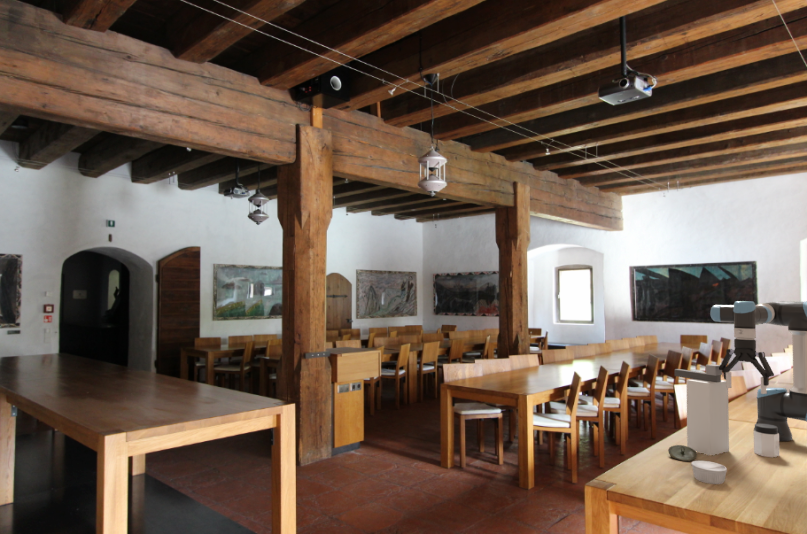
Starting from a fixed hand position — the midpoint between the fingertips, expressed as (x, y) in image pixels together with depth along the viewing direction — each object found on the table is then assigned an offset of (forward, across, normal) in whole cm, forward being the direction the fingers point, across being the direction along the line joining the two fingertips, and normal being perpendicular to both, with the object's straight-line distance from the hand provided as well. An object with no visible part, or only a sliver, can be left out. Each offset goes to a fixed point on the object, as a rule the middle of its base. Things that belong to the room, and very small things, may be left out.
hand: (745, 390), depth 216 cm
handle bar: (-2, -20, -1) cm, 20 cm away
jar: (+28, -1, +16) cm, 33 cm away
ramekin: (+28, +6, -37) cm, 47 cm away
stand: (+28, -15, -1) cm, 32 cm away
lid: (+28, -14, -21) cm, 38 cm away
